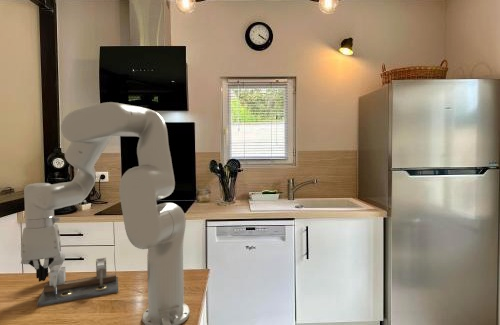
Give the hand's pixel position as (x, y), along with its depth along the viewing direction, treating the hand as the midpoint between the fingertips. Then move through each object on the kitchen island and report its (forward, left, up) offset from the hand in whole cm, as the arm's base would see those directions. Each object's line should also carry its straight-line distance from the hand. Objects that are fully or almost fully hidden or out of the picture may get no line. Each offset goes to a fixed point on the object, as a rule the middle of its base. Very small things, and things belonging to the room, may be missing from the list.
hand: (42, 279), depth 99 cm
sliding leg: (-2, -4, -3) cm, 6 cm away
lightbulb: (+11, -2, -5) cm, 12 cm away
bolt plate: (-3, -11, -5) cm, 12 cm away
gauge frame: (-2, -11, -4) cm, 12 cm away
